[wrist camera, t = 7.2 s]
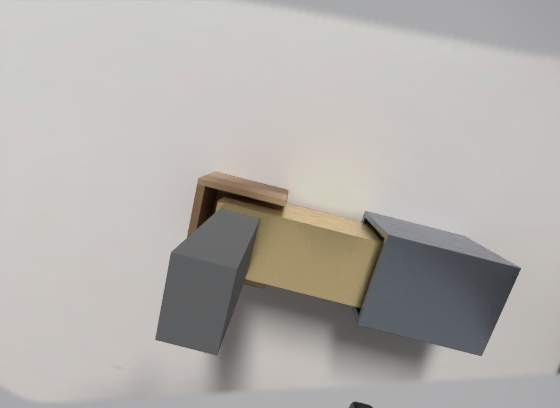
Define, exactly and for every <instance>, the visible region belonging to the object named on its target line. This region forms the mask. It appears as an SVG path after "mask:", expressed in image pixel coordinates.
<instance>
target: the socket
mask: <svg viewBox="0 0 560 408" xmlns="http://www.w3.org/2000/svg"><path fill="white" fill-rule="evenodd" d="M229 192H230V193H234V194H238V195H242V196H246V197H250V198H254V199H258V200H262V201H266V202H270V203H274V204H278V205H282V206H286V202H287V196H288V190H286V189H282V188H278V187H274V186H270V185H266V184H262V183H258V182H254V181H250V180H246V179H242V178H239V177H235V176H231V175H227V174H223V173H219V172H214V173H211V174H208V175H206V176H203V177H201V178H198V183H197V188H196V193H195V199H194V204H193V209H192V215H191V220H190V225H189V230H188V236H187V238H188V237H189V236H190V235H191V234H192V233H193V232H194V231H196V230H197V229H198V228H199V227H200V226H201V225H202V224H203V223H204V222H206V221H207V220H208V219H209V218H210V217H211V216H212V215H213V214H215V212H216V207H217V202H218V201H219V200H220V199H221V198H223V197H224V196H225V195H226V194H228V193H229ZM243 284H247V285H251V286H255V287H258V288H262V289H264V287H265V284H263V283H259V282H255V281H251V280H247V279H245V281H244V283H243Z"/></svg>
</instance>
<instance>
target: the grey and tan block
mask: <svg viewBox="0 0 560 408" xmlns="http://www.w3.org/2000/svg"><path fill="white" fill-rule="evenodd" d="M383 242H384V237H383V236H382V235H381V234H380V233H379V232H378V231H377V230H376V229H375V228H374V226H373V225H371V224H367V223H363V222H359V221H355V220H351V219H347V218H343V217H339V216H335V215H331V214H327V213H323V212H319V211H315V210H312V209H308V208H304V207H300V206H296V205H292V204H288V203H286V206H282V205H278V204H274V203H270V202H266V201H262V200H258V199H254V198H250V197H246V196H242V195H238V194H234V193H230V192H229V193H228V194H226V195H225V196H224V197H223V198H221V199H220V200H219V201H218V202H217V207H216V212H215V214H213V215H212V216H211V217H210V218H209V219H208V220H207V221H206V222H204V223H203V224H202V225H201V226H200V227H199V228H198V229H197V230H196V231H194V232H193V233H192V234H191V235H190V236H189V237H188V238H187V239H185V240H184V241H183V242H182V243H181V244H180V245H179V246H178V247H177V248H175V249H174V250H173V251H172V252H171V256H170V261H169V267H168V272H167V278H166V284H165V289H164V295H163V300H162V306H161V311H160V317H159V322H158V328H157V333H156V339H155V340H158V341H162V342H166V343H170V344H174V345H178V346H182V347H186V348H190V349H194V350H198V351H202V352H206V353H210V354H214V355H217V354H218V352H219V349H220V346H221V343H222V341H223V338H224V335H225V333H226V330H227V327H228V324H229V322H230V319H231V316H232V313H233V311H234V308H235V305H236V303H237V300H238V297H239V294H240V292H241V289H242V286H243V283H244V281H245V279H247V280H251V281H255V282H259V283H263V284H267V285H271V286H275V287H279V288H283V289H287V290H291V291H295V292H299V293H303V294H307V295H311V296H315V297H319V298H322V299H326V300H330V301H334V302H338V303H342V304H346V305H350V306H354V307H358V308H361V307H362V304H363V301H364V298H365V295H366V293H367V290H368V287H369V284H370V281H371V278H372V275H373V272H374V269H375V266H376V263H377V260H378V257H379V254H380V251H381V248H382V245H383Z"/></svg>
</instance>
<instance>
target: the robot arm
mask: <svg viewBox="0 0 560 408" xmlns="http://www.w3.org/2000/svg"><path fill="white" fill-rule="evenodd" d="M349 408H373V407H371V406H370V405H367V404H363V403H359V402H353V403H352V404H351V405H350V407H349Z"/></svg>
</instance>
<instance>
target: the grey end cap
mask: <svg viewBox="0 0 560 408" xmlns="http://www.w3.org/2000/svg"><path fill="white" fill-rule="evenodd" d="M362 222H363V223H367V224H371V225H373V226H374V228H375V229H376V230H377V231H378V232H379V233H380V234H381V235H382V236H383V237H384V242H383V245H382V248H381V251H380V254H379V257H378V260H377V263H376V266H375V269H374V272H373V275H372V278H371V281H370V284H369V287H368V290H367V293H366V295H365V298H364V301H363V304H362V307H361V308H358V307H354V306H352V309H353V312H354V315H355V318H356V321H357V324H358V325H360V326H364V327H368V328H372V329H376V330H380V331H384V332H388V333H392V334H396V335H400V336H404V337H408V338H412V339H416V340H420V341H424V342H428V343H432V344H436V345H439V346H443V347H447V348H451V349H455V350H459V351H463V352H467V353H471V354H475V355H479V356H482V354H483V352H484V350H485V348H486V345H487V343H488V341H489V339H490V336H491V334H492V332H493V330H494V328H495V325H496V323H497V321H498V319H499V316H500V314H501V312H502V310H503V307H504V305H505V303H506V301H507V299H508V296H509V294H510V292H511V290H512V287H513V285H514V283H515V281H516V278H517V276H518V274H519V272H520V270H521V268H520V267H518V266H516V265H514V264H513V263H511V262H509V261H507V260H506V259H504V258H502V257H500V256H499V255H497V254H495V253H493V252H491V251H490V250H488V249H486V248H484V247H483V246H481V245H479V244H477V243H476V242H474V241H472V240H470V239H468V238H467V237H465V236H461V235H457V234H454V233H450V232H446V231H442V230H438V229H434V228H430V227H426V226H422V225H418V224H414V223H410V222H406V221H402V220H398V219H394V218H390V217H386V216H382V215H378V214H374V213H370V212H366V211H365V214H364V217H363V220H362Z"/></svg>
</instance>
